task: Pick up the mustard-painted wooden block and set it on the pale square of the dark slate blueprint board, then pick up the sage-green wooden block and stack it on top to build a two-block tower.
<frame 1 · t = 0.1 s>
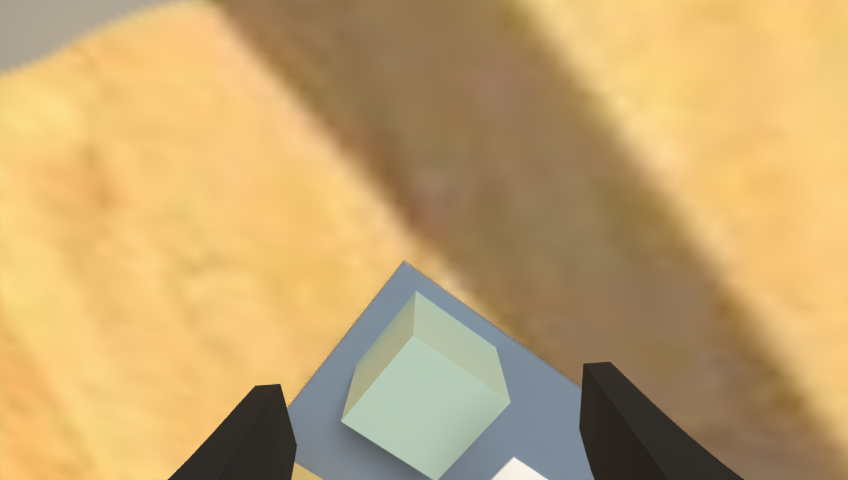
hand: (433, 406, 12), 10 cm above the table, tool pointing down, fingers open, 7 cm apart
sage block: (425, 355, 23), resting on blueprint board
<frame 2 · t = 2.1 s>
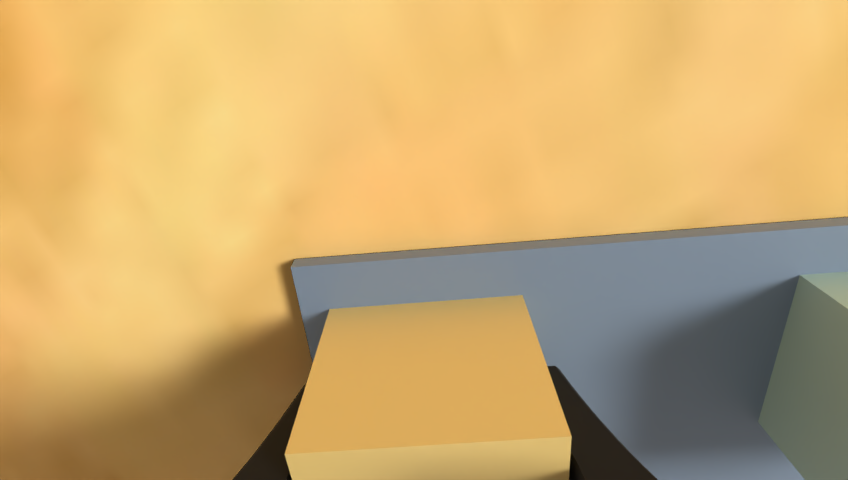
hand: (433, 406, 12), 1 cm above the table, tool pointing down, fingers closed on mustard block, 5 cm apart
mustard block: (432, 377, 13), resting on blueprint board, touching gripper
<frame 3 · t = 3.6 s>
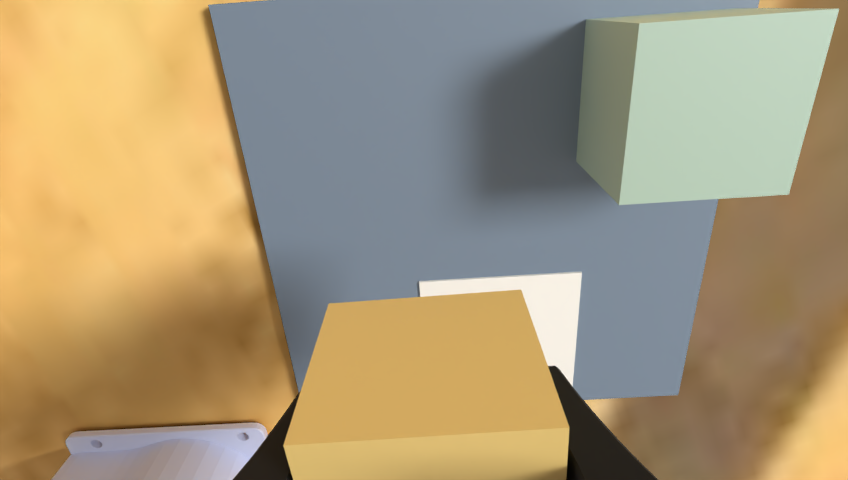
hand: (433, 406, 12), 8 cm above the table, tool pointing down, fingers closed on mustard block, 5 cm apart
sage block: (650, 89, 16), resting on blueprint board
mustard block: (431, 372, 13), point 7 cm above the table, touching gripper
blueprint board: (485, 231, 19), on the table
when the fingers open (2 cm above the table, at t = 5.5 s): mustard block stays where it is, resting on blueprint board.
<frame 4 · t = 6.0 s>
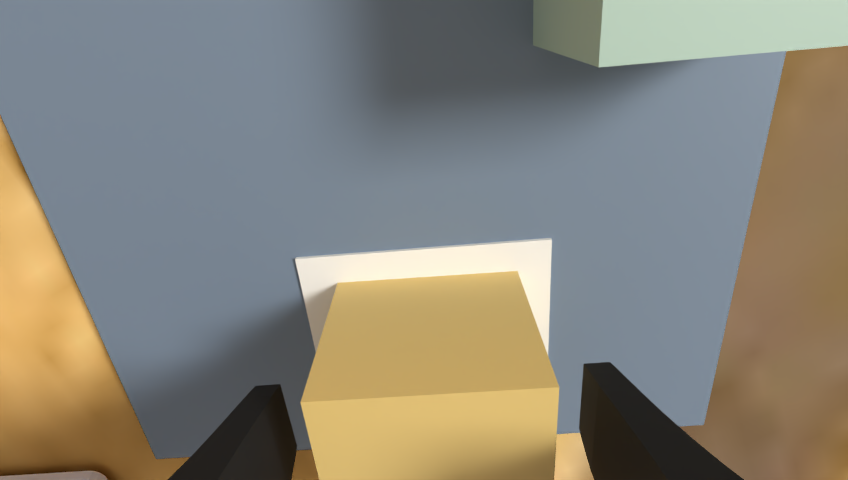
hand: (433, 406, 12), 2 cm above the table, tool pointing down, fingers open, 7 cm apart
mustard block: (433, 349, 13), resting on blueprint board
blueprint board: (395, 175, 12), on the table
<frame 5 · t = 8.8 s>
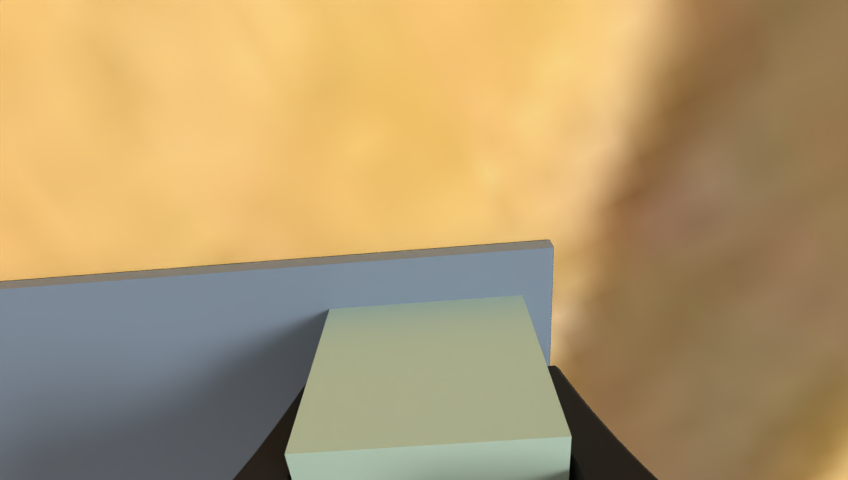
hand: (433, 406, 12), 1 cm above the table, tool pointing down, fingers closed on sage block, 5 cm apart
sage block: (432, 377, 13), resting on blueprint board, touching gripper
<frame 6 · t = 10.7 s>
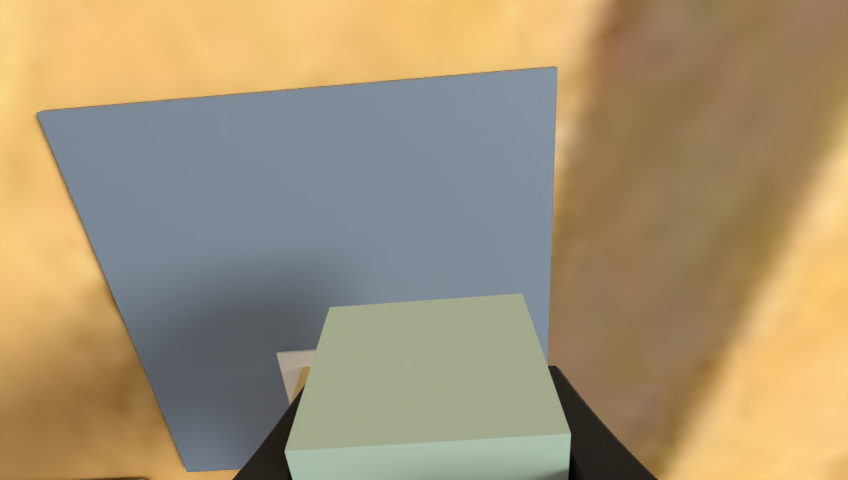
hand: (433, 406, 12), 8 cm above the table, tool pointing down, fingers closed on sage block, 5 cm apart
sage block: (432, 375, 13), point 7 cm above the table, touching gripper
blueprint board: (336, 305, 20), on the table
when the fingers open (7 cm above the table, at t = 12.5 s): sage block stays where it is, resting on mustard block.
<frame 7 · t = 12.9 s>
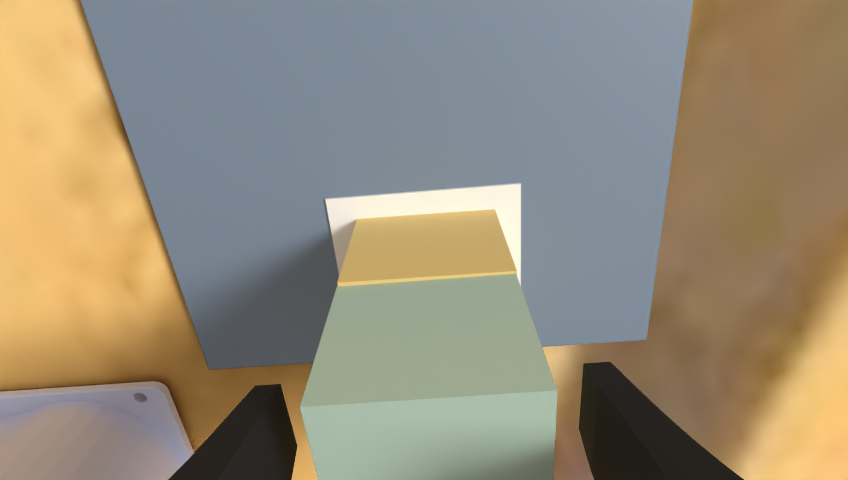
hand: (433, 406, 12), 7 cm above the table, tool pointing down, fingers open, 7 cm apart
sage block: (432, 351, 13), point 5 cm above the table, touching mustard block
mustard block: (430, 274, 17), resting on blueprint board, touching sage block
blueprint board: (402, 134, 16), on the table
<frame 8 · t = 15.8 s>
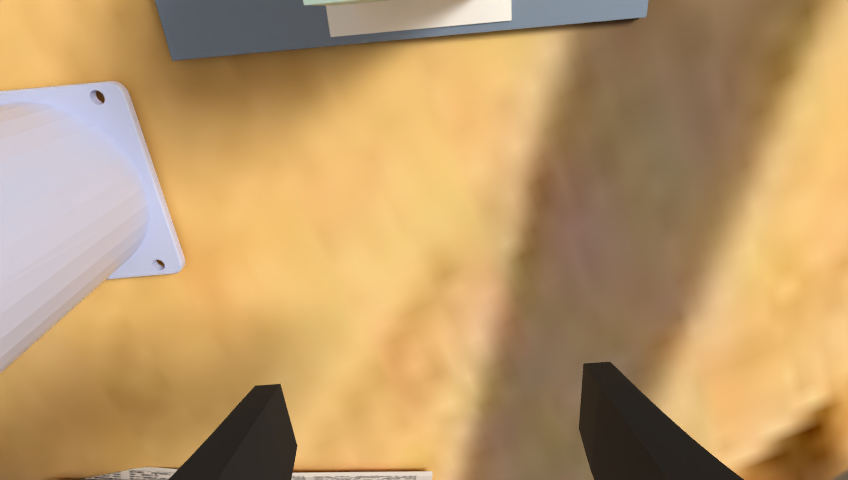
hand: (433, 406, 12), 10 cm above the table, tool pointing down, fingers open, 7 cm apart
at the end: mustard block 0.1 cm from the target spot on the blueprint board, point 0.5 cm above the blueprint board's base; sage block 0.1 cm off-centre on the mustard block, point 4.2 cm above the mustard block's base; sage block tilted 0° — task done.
